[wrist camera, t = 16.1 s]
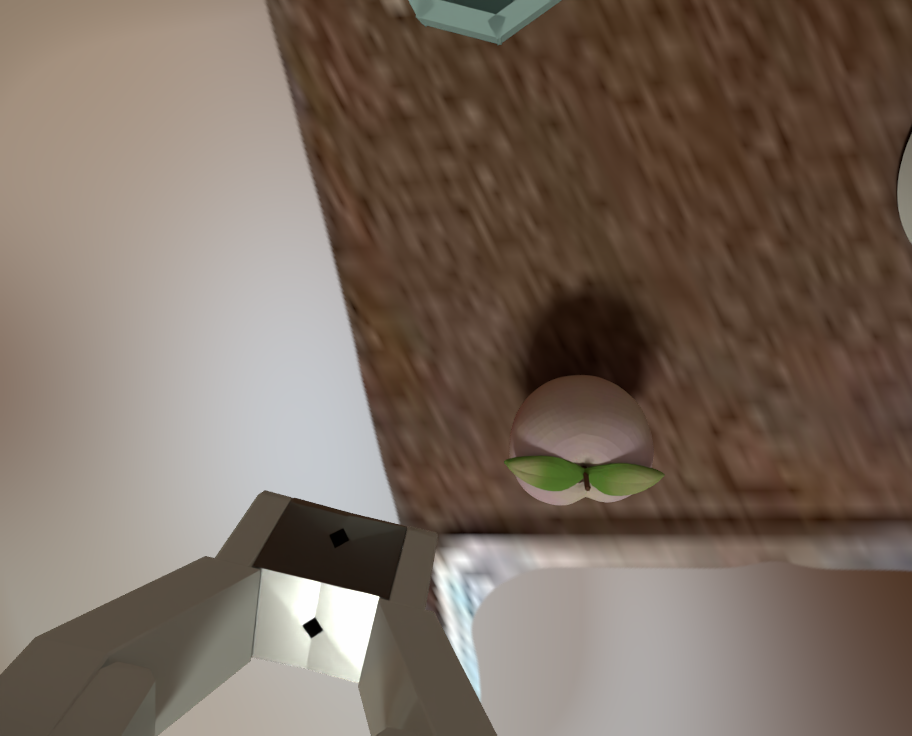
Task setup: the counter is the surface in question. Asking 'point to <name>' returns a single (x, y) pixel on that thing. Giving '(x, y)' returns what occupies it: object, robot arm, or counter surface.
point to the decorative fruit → (581, 442)
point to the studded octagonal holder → (480, 16)
